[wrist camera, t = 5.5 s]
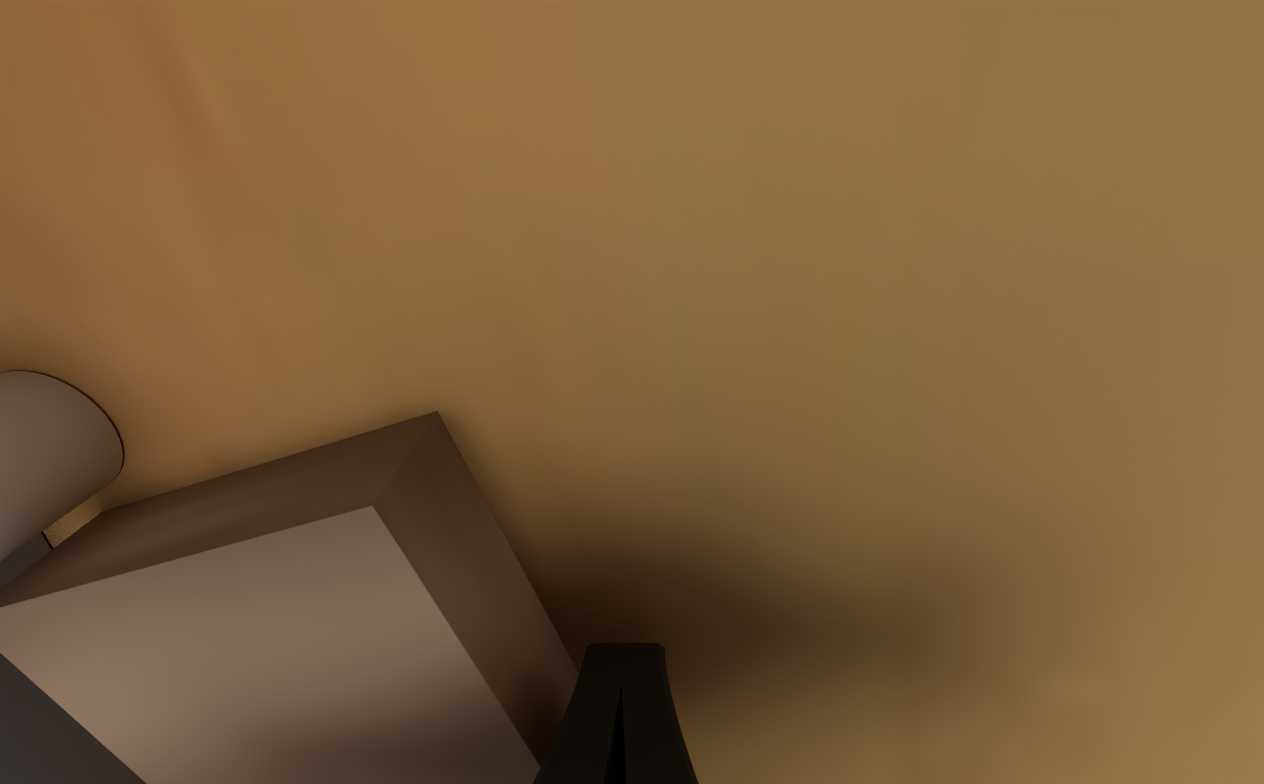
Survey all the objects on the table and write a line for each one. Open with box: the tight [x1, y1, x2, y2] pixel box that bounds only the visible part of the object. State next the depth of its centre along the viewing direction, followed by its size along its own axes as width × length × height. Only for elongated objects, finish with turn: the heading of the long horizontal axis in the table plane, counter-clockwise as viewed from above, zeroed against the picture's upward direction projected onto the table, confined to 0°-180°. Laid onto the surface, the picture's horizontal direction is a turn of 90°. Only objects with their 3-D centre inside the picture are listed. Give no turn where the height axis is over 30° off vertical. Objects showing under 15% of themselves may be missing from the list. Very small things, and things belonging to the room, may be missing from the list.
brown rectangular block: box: [0, 411, 579, 784], centre depth 12 cm, size 12×7×3 cm, turn 19°
